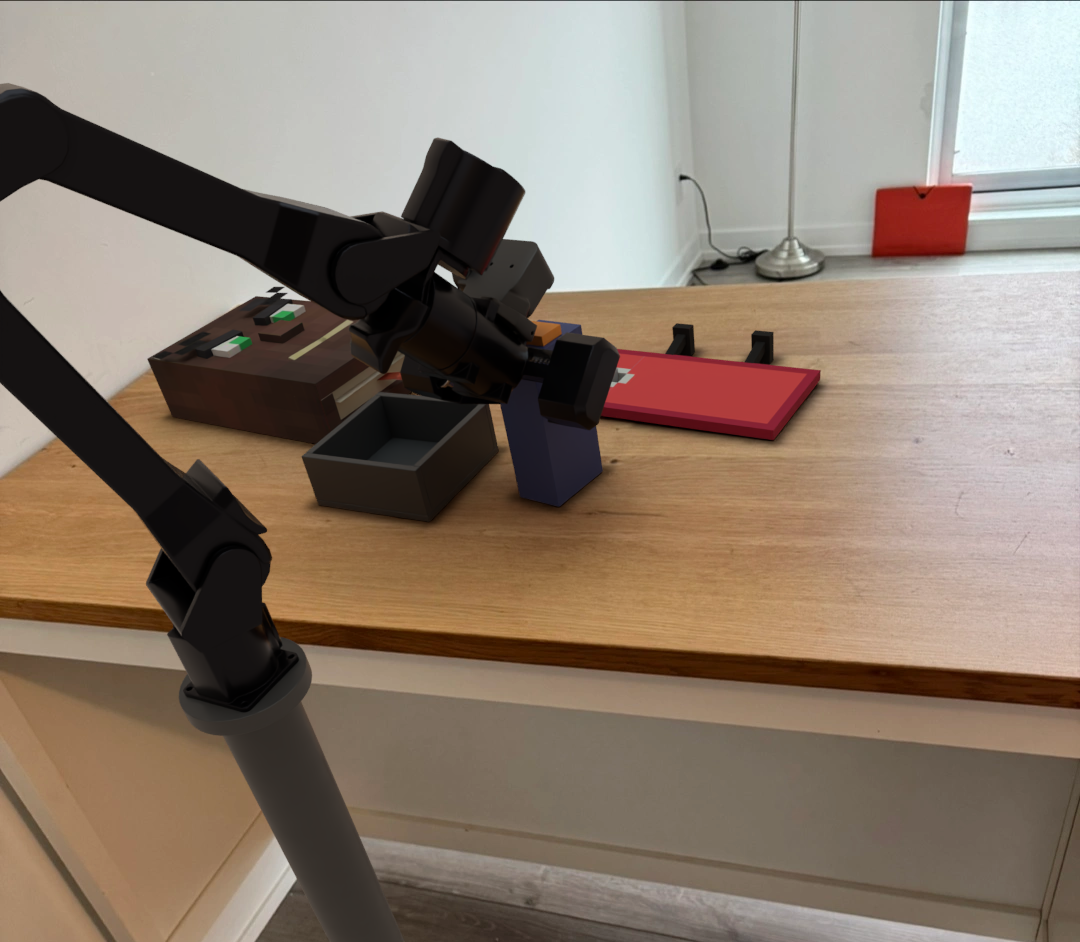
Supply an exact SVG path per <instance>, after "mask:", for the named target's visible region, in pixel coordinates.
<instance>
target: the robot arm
mask: <svg viewBox="0 0 1080 942" xmlns="http://www.w3.org/2000/svg"><path fill="white" fill-rule="evenodd" d="M38 180H41V181H46V182H49V183H51V184H54V185H56V186H59V187H62V188H64V189H66V190H69V191H72V192H74V193H77V194H79V195H82V196H84V197H87V198H88V199H92V200H95V201H97V202H99V203H102V204H105V205H106V206H110V207H112V208H115V209H116V210H120V211H122V212H125V213H127V214H130V215H132V216H135V217H138V218H140V219H142V220H145V221H147V222H150V223H153V224H155V225H158V226H160V227H163V228H165V229H168V230H170V231H173V232H175V233H178V234H180V235H183V236H186V237H188V238H190V239H193V240H195V241H198V242H200V243H203V244H206V245H208V246H211V247H213V248H216V249H219V250H221V251H223V252H226V253H228V254H232V255H233V256H236V257H237V258H239V259H241V260H243V261H244V262H245V263H248V264H249V265H250V266H252V267H253V268H255V269H257V270H258V271H260V272H262V273H263V274H264V275H266V276H268V277H270V278H271V279H273V280H274V281H276V282H277V283H279V284H281V285H282V286H283V287H285V288H288V289H289V290H291V291H292V292H294V293H295V294H297V295H299V296H301V297H302V298H304V299H305V300H307V301H311V302H313V303H315V304H317V305H318V306H320V307H322V308H324V309H326V310H327V311H329V312H331V313H333V314H335V315H337V316H339V317H341V318H343V319H349V320H359V321H358V322H356V323H355V324H352V325H350V326H349V332H350V334H351V340H350V348H351V355H352V357H354V358H355V359H357V360H359V361H361V362H362V363H364V364H366V365H367V366H369V367H371V368H372V369H374V370H376V371H378V372H379V373H381V374H386V373H387V372H388V370H389V368H390V366H391V364H392V362H393V360H394V358H395V356H396V354H397V352H400V353H402V354H404V355H405V357H404V360H403V364H402V367H401V370H400V374H401V378H402V382H403V385H404V388H406V389H408V390H410V391H412V392H411V393H414V394H415V395H419V396H425V397H430V398H435V399H440V400H443V401H448V402H453V403H458V404H489V405H500V403H504V404H508V401H509V398H510V395H511V392H512V391H513V389H514V388H516V387H517V386H518V384H519V383H520V381H521V380H522V379H523V380H528V381H534V382H539V383H543V384H542V387H541V390H540V393H539V396H538V403H539V409H540V414H541V416H543V417H545V418H546V419H548V422H549V423H554V424H559V425H564V426H569V427H575V428H580V429H585V430H591V429H592V428H594V427H595V426H596V427H597V426H598V425H599V423H600V420H601V417H602V416H601V414H602V411H603V408H604V405H605V401H606V398H607V395H608V392H609V389H610V386H611V383H612V380H613V377H614V374H615V371H616V368H617V364H618V361H619V358H620V355H619V352H618V350H617V349H618V348H617V347H616V346H615V345H614V344H613V343H612V342H610V341H609V340H607V338H605V337H602V336H594V335H588V334H582V335H581V334H575V333H568V332H567V333H565V334H564V335H562V336H561V337H560V338H558V339H557V340H556V343H555V346H554V349H553V351H552V350H546V349H540V348H533V347H527V346H526V343H527V341H528V342H532V341H533V338H534V334H535V331H536V328H537V325H536V324H534V323H533V322H532V321H533V320H530V319H529V318H530V317H532V315H533V314H534V312H536V309H537V307H539V304H540V302H541V301H542V299H543V298H544V296H545V294H546V293H547V291H548V290H551V288H552V287H553V285H554V283H555V276H554V274H553V272H552V270H551V268H550V266H549V264H548V262H547V260H546V259H545V256H544V255H543V252H542V250H541V249H540V247H539V245H538V243H536V242H535V241H532V240H523V239H522V240H519V239H507V238H504V237H505V236H506V233H507V232H508V230H509V227H510V226H511V223H512V222H513V220H514V217H515V215H516V213H517V211H518V210H519V207H520V206H521V204H522V201H523V200H524V197H525V195H526V189H525V188H524V186H523V185H522V184H521V182H519V181H518V180H517V179H515V177H513V175H511V174H510V173H508V172H507V171H506V170H505V169H503V168H501V167H497V166H493V165H492V164H490V163H489V162H486V161H485V160H483V159H481V158H480V157H478V156H477V155H475V154H473V153H471V152H469V151H467V150H464V149H463V148H461V147H460V146H459V145H458V144H457V143H455V142H454V141H453V140H450V139H446V138H441V137H435V138H433V139H432V141H431V143H430V146H429V148H428V150H427V152H426V155H425V158H424V162H423V167H422V169H421V172H420V175H419V177H418V178H417V180H416V183H415V185H414V187H413V189H412V191H411V193H410V196H409V198H408V200H407V202H406V204H405V206H404V209H403V210H402V212H401V215H400V216H396V215H394V214H392V213H388V212H386V211H375V212H369V213H363V214H356V215H347V214H344V213H343V212H340V211H337V210H334V209H331V208H329V207H326V206H322V205H318V204H313V203H309V202H305V201H301V200H296V199H292V198H287V197H284V196H278V195H273V194H267V193H263V192H258V191H253V190H250V189H246V188H242V187H239V186H237V185H234V184H232V183H229V182H228V181H226V180H223V179H221V178H219V177H216V176H214V175H212V174H210V173H208V172H205V171H203V170H200V169H198V168H196V167H194V166H192V165H190V164H187V163H184V162H182V161H180V160H178V159H175V158H173V157H171V156H169V155H167V154H164V153H162V152H160V151H157V150H155V149H153V148H151V147H149V146H146V145H144V144H142V143H139V142H137V141H135V140H133V139H131V138H128V137H126V136H124V135H122V134H119V133H117V132H115V131H113V130H110V129H108V128H106V127H103V126H101V125H99V124H97V123H95V122H92V121H90V120H88V119H85V118H84V117H81V116H79V115H76V114H74V113H72V112H69V111H68V110H65V109H63V108H61V107H59V105H57V104H55V103H54V102H52V101H51V100H50V99H49V98H48V97H47V96H45V95H43V94H41V93H39V92H38V91H34V90H33V89H29V88H27V87H25V86H21V85H19V84H18V85H17V84H13V83H10V82H6V83H5V82H4V83H0V202H3V201H4V200H5V199H7V198H8V197H10V196H11V195H12V194H14V193H16V192H18V191H19V190H20V189H22V188H24V187H26V186H29V185H30V184H32V183H34V182H36V181H38ZM438 266H439V267H441V268H443V269H444V270H446V271H448V272H449V273H451V277H452V281H453V283H454V284H452V283H451V282H450V281H448V280H447V279H445V278H444V277H443V276H441V275H440V274H438V273H437V272H436V269H437V268H438ZM531 361H532V362H531ZM535 362H536V363H535ZM539 362H540V363H539ZM543 363H544V364H543ZM547 363H548V364H549V365H547ZM0 385H2V387H3V388H5V390H6V391H8V392H9V393H10V394H11V395H12V396H13V397H14V398H15V399H16V400H17V401H18V402H20V404H22V406H24V407H25V409H26V410H28V411H29V412H30V413H31V414H32V415H33V416H34V417H35V418H36V419H37V420H39V422H40V423H41V424H42V425H43V426H45V427H46V428H47V429H48V430H49V431H50V432H51V433H52V434H53V435H54V436H55V437H56V438H57V439H59V441H60V442H61V443H63V444H64V445H65V446H66V448H68V449H69V450H70V451H71V452H72V453H73V454H74V455H75V456H76V457H77V458H78V459H79V460H80V461H82V463H84V465H86V466H87V467H88V468H89V469H90V470H91V471H92V472H93V473H94V474H95V475H96V476H97V477H98V478H99V479H100V480H101V481H103V483H105V484H106V485H107V486H108V487H109V488H110V489H111V490H112V491H113V492H114V493H115V494H116V495H117V496H118V497H120V498H121V499H122V500H123V502H125V503H126V504H127V505H128V506H129V507H130V508H131V509H132V511H133V512H134V513H135V514H136V516H137V517H138V519H139V521H141V523H142V524H143V526H144V527H145V528H146V530H147V531H148V532H149V534H150V535H151V536H152V539H154V541H155V542H156V544H157V545H158V546H159V551H158V554H157V556H156V558H155V560H154V563H153V565H152V567H151V569H150V572H149V574H148V577H147V579H146V581H145V586H146V587H147V589H148V590H149V592H150V593H151V595H152V596H153V597H154V599H155V600H156V602H157V603H158V604H159V606H160V607H161V609H162V610H163V612H164V613H165V614H166V616H167V617H168V619H169V620H170V622H171V624H172V628H171V629H170V630H169V631H168V632H167V634H166V636H167V638H168V639H169V641H170V644H171V645H172V647H173V649H174V651H175V653H176V655H177V657H178V659H179V661H180V663H181V665H182V666H183V668H184V670H185V672H186V675H187V674H188V676H189V678H190V680H191V682H190V683H189V684H188V685H187V686H186V687H185V688H184V689H183V692H184V694H185V696H186V697H189V698H193V699H196V700H200V701H203V702H207V703H210V704H214V705H218V706H221V707H225V708H228V709H232V710H235V711H239V712H243V713H245V712H249V711H250V710H252V709H253V708H254V707H255V706H256V705H257V703H258V702H259V701H260V700H261V699H262V698H263V697H264V696H265V695H266V694H267V693H268V692H269V691H270V690H271V689H272V688H273V687H274V686H275V685H276V684H277V683H278V682H279V681H280V680H281V679H282V678H283V677H284V676H285V675H286V674H287V673H288V672H289V671H290V670H291V669H292V668H293V667H294V665H295V664H296V663H297V662H298V661H299V657H298V655H297V653H295V652H290V651H286V650H282V649H281V647H282V646H283V645H282V641H281V638H280V637H281V636H280V634H279V632H278V629H277V627H276V625H275V623H274V620H273V617H272V616H271V613H270V611H269V610H270V609H269V608H268V606H267V604H266V603H265V602H263V586H264V585H265V584H266V582H267V580H268V578H269V575H270V573H271V565H272V561H273V556H272V552H271V549H270V548H269V546H268V544H267V543H266V542H265V539H263V538H262V537H261V536H260V535H263V534H266V533H267V532H268V529H267V527H266V526H265V525H264V524H263V523H262V522H261V521H260V520H259V519H258V518H257V517H256V516H255V515H254V514H253V513H252V512H251V511H250V510H249V508H247V507H246V506H245V505H244V504H243V503H242V501H240V500H239V499H238V498H237V496H235V495H234V494H233V493H232V491H231V490H230V488H229V487H228V486H227V485H226V484H224V483H223V481H222V480H221V479H220V478H219V477H218V476H217V475H216V474H215V473H214V472H213V471H212V470H211V469H210V468H209V467H208V466H207V465H206V464H205V463H204V462H203V461H202V460H201V459H200V458H197V459H196V460H195V461H194V462H193V463H192V465H190V466H191V467H190V468H188V469H187V471H186V472H185V471H183V470H182V469H180V468H178V467H176V466H175V465H174V464H172V463H170V462H169V461H168V460H166V459H165V458H164V457H162V456H161V455H160V454H159V453H158V452H157V451H156V450H155V449H154V448H153V447H152V445H151V444H149V443H148V442H147V440H146V439H144V437H143V436H141V434H139V432H138V431H137V430H136V429H135V428H134V427H133V426H132V425H131V424H130V423H129V421H127V420H126V419H125V418H124V416H122V415H121V414H120V413H119V411H117V409H115V408H114V407H113V405H112V404H111V403H110V402H109V401H108V400H107V399H106V398H105V397H104V396H103V395H102V394H101V393H100V392H99V391H98V390H97V389H96V388H95V387H94V386H93V385H92V383H90V382H89V380H87V379H86V378H85V376H83V374H81V372H80V371H79V370H77V368H76V367H75V365H73V364H72V363H71V361H69V360H68V359H67V358H66V357H65V356H64V355H63V354H62V353H61V352H60V351H59V350H58V349H57V348H56V346H54V344H52V343H51V341H50V340H49V339H48V338H47V337H46V336H45V335H44V334H43V333H42V332H41V331H40V330H39V329H38V328H37V327H36V326H35V325H34V324H33V323H32V321H30V320H29V319H28V318H27V316H26V315H24V313H22V312H21V311H20V309H19V308H17V306H15V304H14V303H13V302H12V301H11V300H10V299H9V298H8V297H7V296H6V295H5V294H4V293H3V292H2V290H1V289H0Z"/></svg>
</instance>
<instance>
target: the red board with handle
mask: <svg viewBox="0 0 1080 942" xmlns="http://www.w3.org/2000/svg"><path fill="white" fill-rule="evenodd" d="M694 329H695V328H694V324H688V323H679V322H678V323H675V324H674V325H673V326H672V341H671V343H670V345H669V347H668V348H667V350H666V351H665V353H660V352H652V351H651V352H650V351H642V350H632V349H623V348H617V350H618V352H619V355H620V358H619V361H618V364H617V368H616V371H615V374H614V377H613V380H612V383H611V386H610V389H609V392H608V395H607V398H606V401H605V405H604V408H603V411H602V414H601V417H608V418H614V419H622V420H630V421H635V422H642V423H643V422H644V423H650V424H658V425H664V426H671V427H677V428H678V427H679V428H684V429H692V430H699V431H705V432H713V433H718V434H719V433H721V434H725V435H734V436H741V437H747V438H755V439H762V440H770V441H774V440H775V439H776V437H778V435H779V433H781V431H782V430H783V429H784V427H785V426H786V425H787V424H788V422H789V421H790V420H791V418H792V417H793V416H794V414H795V413H796V412H797V411H798V409H799V408H800V407H801V405H802V404H803V403H804V402H805V400H806V399H807V398H808V397H809V395H810V394H811V392H812V391H813V390H814V389H815V387H816V386H817V385H818V383H819V382H820V381H821V371H822V370H821V369H815V368H813V369H812V368H803V367H794V366H784V365H777V364H776V365H775V364H774V365H773V364H771V363H772V362H773V361H774V352H775V351H774V350H775V349H774V343H775V342H774V341H775V339H774V334H775V333H774V331H768V330H767V331H765V330H754V331H753V332H752V333H751V335H750V337H751V338H750V339H751V343H750V344H751V350H750V351H749V353H748V354H747V357H745V358H746V359H745V360H744V361H737V360H728V359H719V358H707V357H700V356H693V354H694V353H695V352H696V345H695V330H694Z"/></svg>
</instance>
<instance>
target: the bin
mask: <svg viewBox="0 0 1080 942" xmlns="http://www.w3.org/2000/svg"><path fill="white" fill-rule="evenodd" d="M498 452H500V449H499V445H498V441H497V435H496V430H495V426H494V421H493V416H492V411H491V406H490V404H458V403H453V402H448V401H443V400H440V399H435V398H430V397H425V396H420V395H417V394H408V395H407V394H396V393H384V392H378V393H377V394H376V395H375V396H373V397H372V398H371V399H370V400H369V401H367V402H366V403H365V404H364V405H363V406H361V407H360V408H359V409H358V410H357V411H355V412H354V413H353V414H352V415H351V416H349V417H348V418H347V419H346V420H344V421H343V422H342V423H341V424H340V425H338V426H337V427H336V428H335V429H334V430H332V431H331V432H330V433H329V434H328V435H326V436H325V437H324V438H323V439H322V440H320V441H319V442H318V443H317V444H313V446H311V448H309V449H308V450H306V452H305V453H303V454H302V455H301V456H300V457H301V460H302V463H303V465H304V468H305V471H306V474H307V478H308V479H309V482H310V485H311V488H312V491H313V494H314V496H315V500H316V503H317V506H322V507H329V508H335V509H342V510H348V511H355V512H362V513H369V514H374V515H380V516H381V515H382V516H387V517H394V518H400V519H401V518H402V519H407V520H415V521H421V522H428V523H430V522H431V521H432V520H433V519H434V518H435V517H436V516H437V515H439V513H440V512H441V511H442V510H443V509H444V508H445V507H446V506H447V505H448V504H449V503H450V502H451V501H452V499H454V497H456V496H457V494H458V493H460V491H461V490H463V488H464V487H465V486H466V485H467V484H468V483H470V481H471V480H472V479H473V478H474V477H475V476H476V475H477V474H478V473H479V472H480V471H481V470H482V469H483V468H484V467H485V466H486V465H487V464H488V463H489V462H490V461H491V460H492V459H493V458H494V457H495V456H496V455H497V454H498Z"/></svg>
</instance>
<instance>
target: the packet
mask: <svg viewBox="0 0 1080 942" xmlns="http://www.w3.org/2000/svg"><path fill="white" fill-rule="evenodd" d="M531 321H532V322H533V323H534V324H536V325H537V328H536V331H535V334H534V338H533V341H532V342H528V341H527V343H526V346H527V347H533V348H540V349H546V350H552V351H553V349H554V346H555V343H556V340H557V339H558V338H560V337H561V336H562V335H564V334H565V333H567V332H568V333H575V334H581V335H583V328H582V324H579V323H571V322H562V321H554V320H545V319H537V320H531ZM531 362H532V361H531ZM535 363H536V362H535ZM539 363H540V362H539ZM543 364H544V363H543ZM547 365H549V364H548V363H547ZM542 384H543V383H539V382H534V381H528V380H523V379H522V380H521V381H520V383H519V384H518V386H517V387H516V388H514V389H513V391H512V392H511V395H510V398H509V401H508V404H504V403H500V404H499V405H500V410H501V415H502V420H503V424H504V428H505V434H506V439H507V443H508V448H509V453H510V458H511V462H512V467H513V471H514V477H515V481H516V485H517V490H518V495H519V498H522V499H526V500H529V501H534V502H538V503H542V504H545V505H550V506H555V507H561V506H562V505H564V504H565V503H566V502H567V501H568V500H570V499H571V498H572V497H573V496H574V495H576V494H577V493H578V492H580V491H581V490H582V489H583V488H584V487H586V486H587V485H588V484H589V483H591V481H594V479H595V478H596V477H598V476H599V475H600V474H601V473H602V472H603V471H604V469H603V462H602V456H601V449H600V443H599V436H598V429H597V425H596V426H595V427H594V428H592V429H591V430H585V429H580V428H575V427H569V426H564V425H559V424H554V423H549V422H548V419H546V418H545V417H543V416H541V414H540V409H539V403H538V396H539V393H540V390H541V387H542Z"/></svg>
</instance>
